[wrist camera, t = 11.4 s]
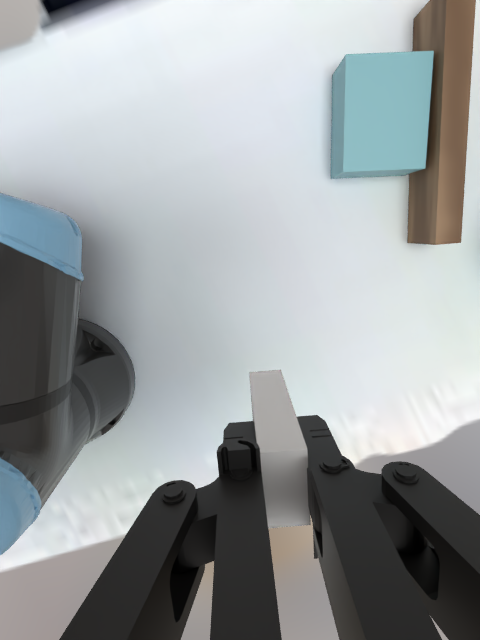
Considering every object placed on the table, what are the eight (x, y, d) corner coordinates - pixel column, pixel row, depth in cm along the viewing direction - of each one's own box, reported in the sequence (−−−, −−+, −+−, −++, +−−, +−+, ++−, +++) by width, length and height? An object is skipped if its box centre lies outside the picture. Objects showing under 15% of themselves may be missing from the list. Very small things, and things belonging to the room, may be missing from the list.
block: (330, 178, 41) (343, 171, 36) (331, 76, 38) (345, 54, 33) (402, 175, 41) (425, 168, 36) (408, 73, 38) (433, 50, 33)
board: (407, 242, 42) (435, 244, 36) (413, 19, 37) (447, -21, 31) (429, 241, 42) (461, 242, 36) (438, 17, 37) (477, -24, 31)
